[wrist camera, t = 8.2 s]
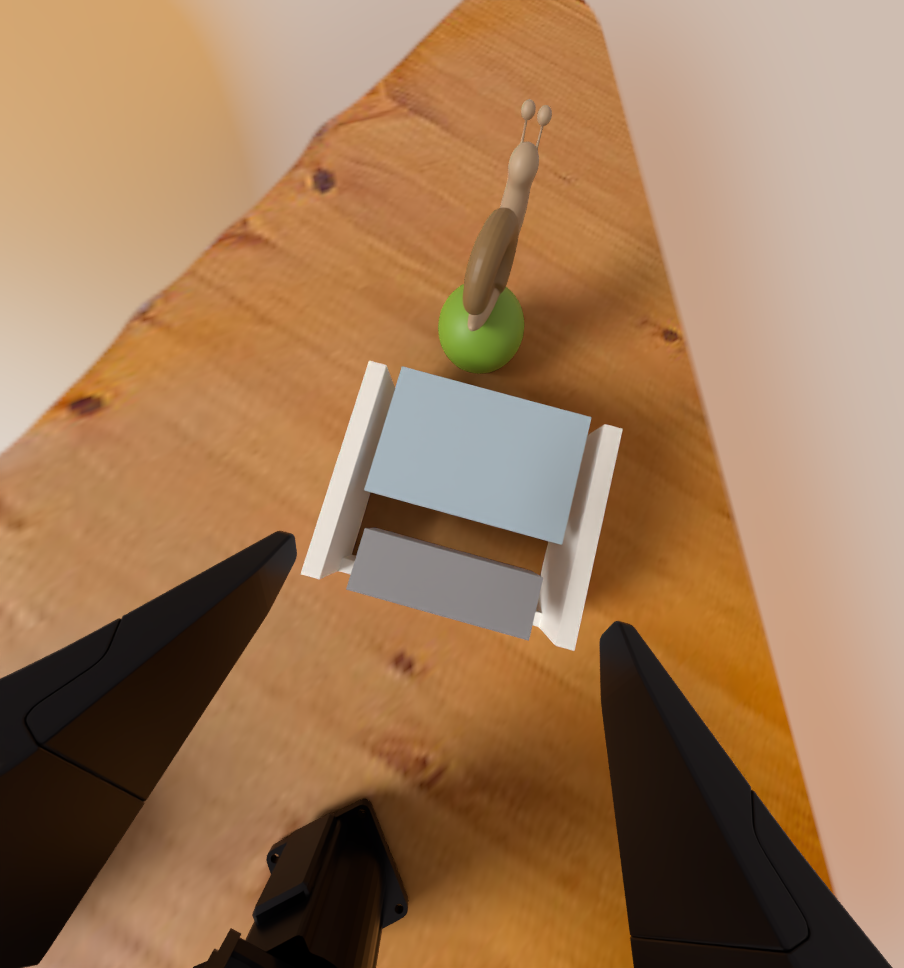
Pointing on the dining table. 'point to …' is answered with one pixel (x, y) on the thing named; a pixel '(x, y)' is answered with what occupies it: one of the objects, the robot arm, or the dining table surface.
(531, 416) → the trapdoor
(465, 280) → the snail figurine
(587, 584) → the frame
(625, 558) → the dining table surface
